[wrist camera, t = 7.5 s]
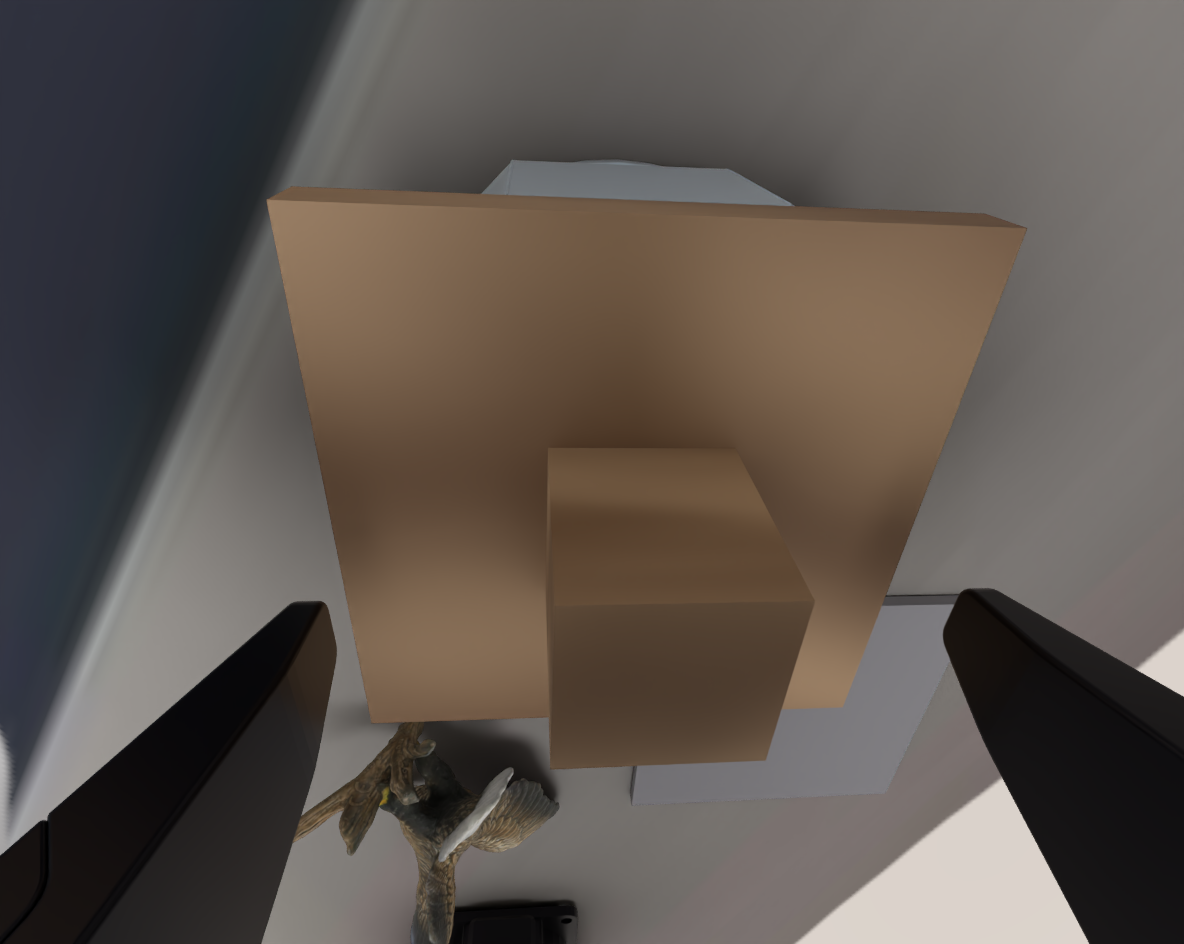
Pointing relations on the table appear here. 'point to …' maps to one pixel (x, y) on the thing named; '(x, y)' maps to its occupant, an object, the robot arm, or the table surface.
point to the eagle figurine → (432, 819)
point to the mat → (832, 724)
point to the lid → (626, 447)
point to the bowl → (629, 182)
